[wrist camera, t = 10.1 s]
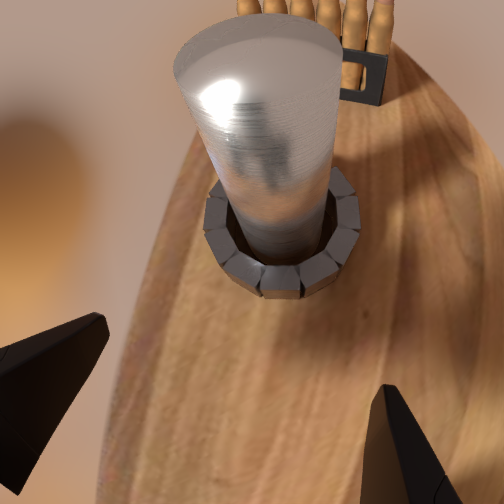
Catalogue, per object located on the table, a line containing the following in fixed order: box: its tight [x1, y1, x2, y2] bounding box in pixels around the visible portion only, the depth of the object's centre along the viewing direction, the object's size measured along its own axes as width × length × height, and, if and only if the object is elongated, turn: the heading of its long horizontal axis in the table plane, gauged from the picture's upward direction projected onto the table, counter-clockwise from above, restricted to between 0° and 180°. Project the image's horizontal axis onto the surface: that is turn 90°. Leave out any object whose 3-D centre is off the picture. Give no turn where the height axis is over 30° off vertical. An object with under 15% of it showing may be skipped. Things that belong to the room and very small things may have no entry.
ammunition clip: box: [237, 0, 394, 106], centre depth 16 cm, size 11×2×12 cm, turn 77°
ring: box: [203, 164, 361, 299], centre depth 17 cm, size 8×8×2 cm
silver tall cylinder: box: [173, 13, 343, 266], centre depth 12 cm, size 4×4×12 cm
